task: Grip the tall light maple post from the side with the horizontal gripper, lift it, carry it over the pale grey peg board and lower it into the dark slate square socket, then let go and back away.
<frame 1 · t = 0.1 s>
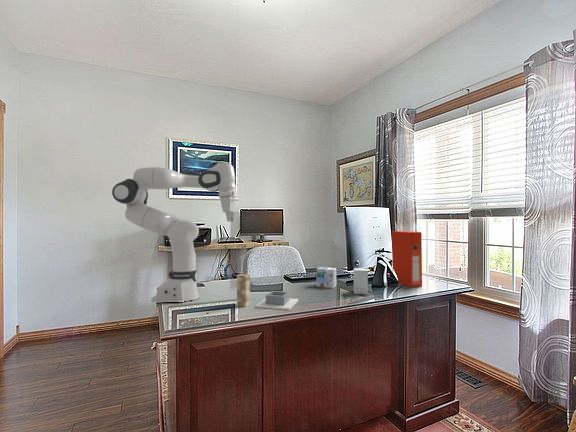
hand: (230, 221, 155), 39 cm above the table, tool pointing down, fingers open, 8 cm apart
light bulb box: (326, 286, 181), on the table
file binder: (406, 284, 187), on the table
maple post: (243, 304, 142), on the table
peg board: (277, 303, 144), on the table
supplement box: (360, 292, 166), on the table
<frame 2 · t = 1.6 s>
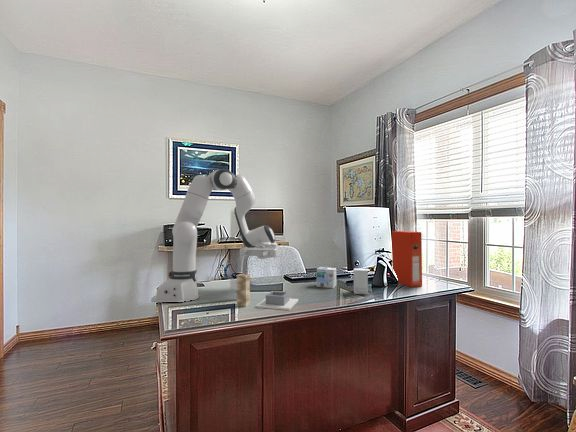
hand: (253, 253, 154), 22 cm above the table, tool horizontal, fingers open, 8 cm apart
nothing on the table moved.
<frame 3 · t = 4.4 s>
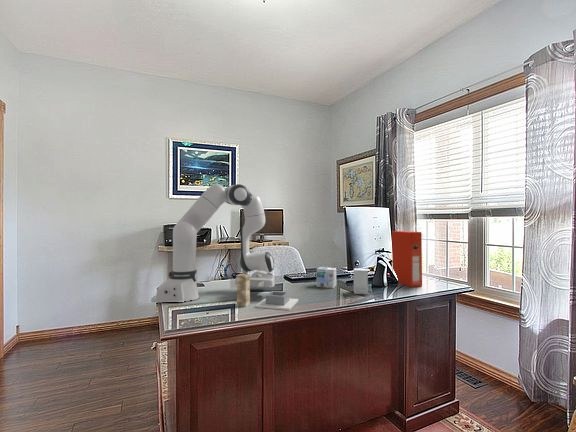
hand: (249, 284, 149), 8 cm above the table, tool horizontal, fingers open, 8 cm apart
nothing on the table moved.
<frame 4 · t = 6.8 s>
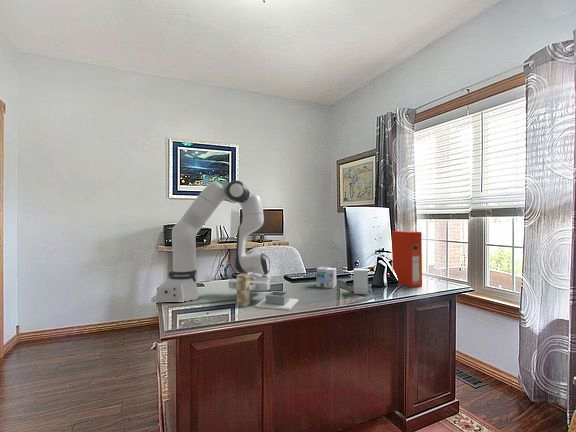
hand: (242, 288, 142), 8 cm above the table, tool horizontal, fingers closed on maple post, 4 cm apart
maple post: (243, 304, 142), on the table, touching gripper
everything else where it was.
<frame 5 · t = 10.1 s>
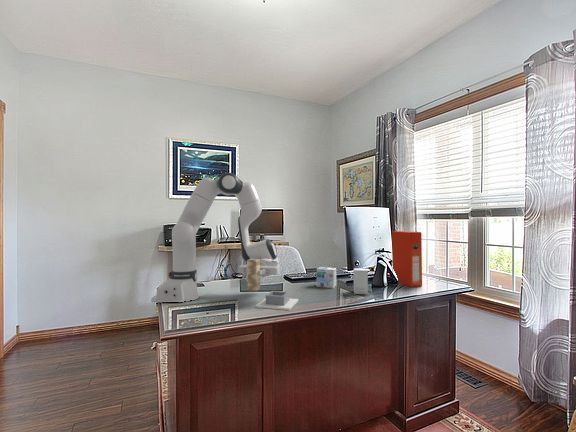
hand: (253, 272, 142), 15 cm above the table, tool horizontal, fingers closed on maple post, 4 cm apart
maple post: (253, 289, 143), point 7 cm above the table, touching gripper
everything else where it was.
when the fingers open (10 cm above the table, at t = 13.5 s): maple post drops 1 cm, resting on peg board.
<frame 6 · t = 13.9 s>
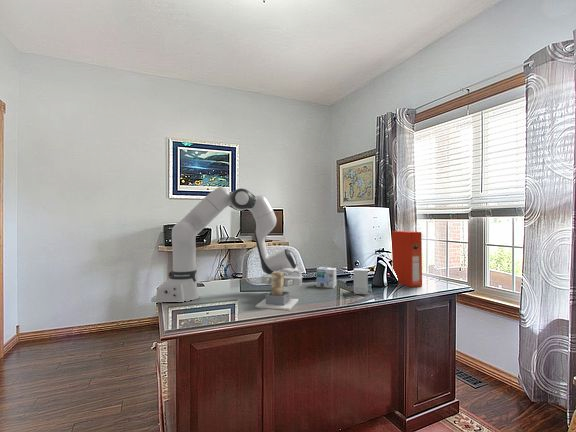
hand: (277, 283, 143), 10 cm above the table, tool horizontal, fingers open, 8 cm apart
maple post: (277, 302, 144), point 1 cm above the table, touching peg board
everything else where it was.
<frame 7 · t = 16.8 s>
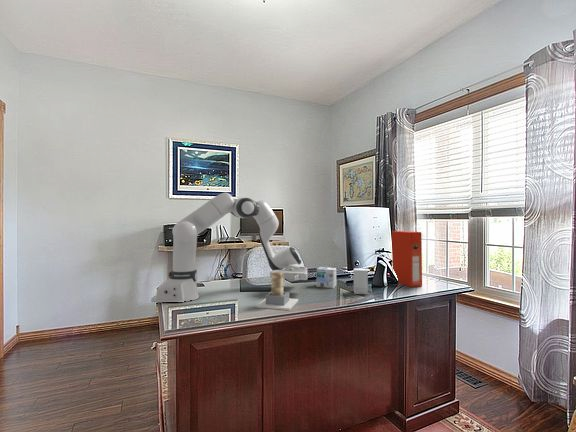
hand: (284, 277, 155), 10 cm above the table, tool horizontal, fingers open, 8 cm apart
nothing on the table moved.
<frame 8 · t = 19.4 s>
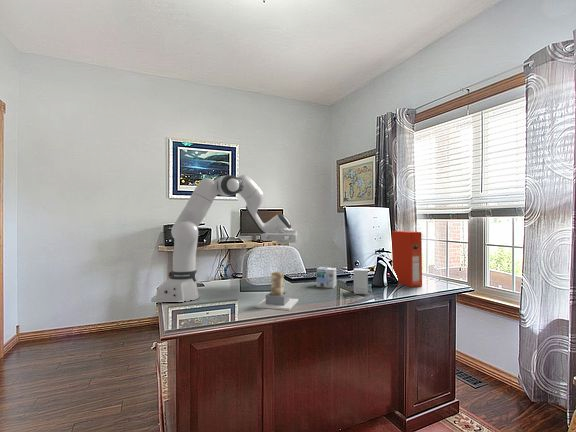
hand: (275, 237, 161), 30 cm above the table, tool horizontal, fingers open, 8 cm apart
nothing on the table moved.
at the end: maple post 0.1 cm off-centre on the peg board, point 0.8 cm above the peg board's base; maple post tilted 0°; the gripper is holding nothing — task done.
